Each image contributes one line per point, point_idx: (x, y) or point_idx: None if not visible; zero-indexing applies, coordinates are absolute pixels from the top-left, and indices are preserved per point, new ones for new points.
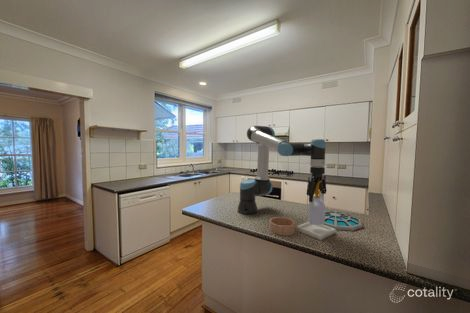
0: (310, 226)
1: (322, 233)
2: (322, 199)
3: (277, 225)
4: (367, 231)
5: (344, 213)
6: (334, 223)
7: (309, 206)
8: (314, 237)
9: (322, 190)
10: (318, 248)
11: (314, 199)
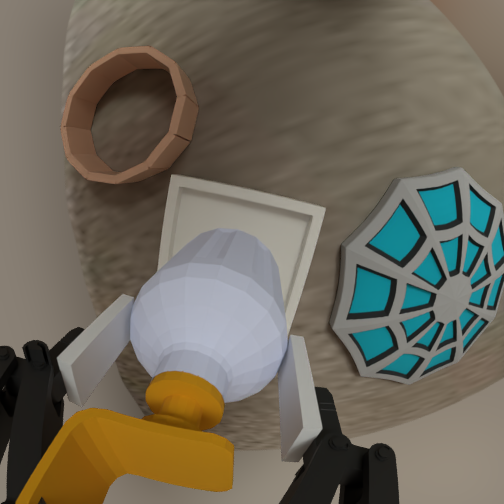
0: (262, 221)
1: None
2: (282, 404)
3: (62, 134)
4: (378, 394)
5: (487, 312)
6: (357, 320)
7: (121, 300)
8: None
9: (285, 494)
10: (105, 309)
11: (157, 368)
